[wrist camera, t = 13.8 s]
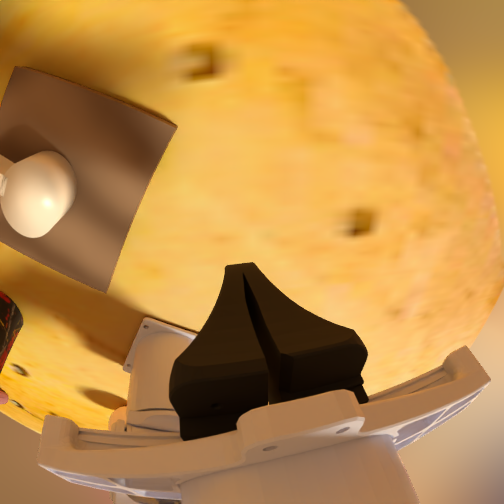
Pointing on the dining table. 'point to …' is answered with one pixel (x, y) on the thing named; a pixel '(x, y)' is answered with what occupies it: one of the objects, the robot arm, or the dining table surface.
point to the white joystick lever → (36, 192)
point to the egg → (118, 416)
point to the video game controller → (3, 397)
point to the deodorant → (8, 326)
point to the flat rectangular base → (82, 168)
